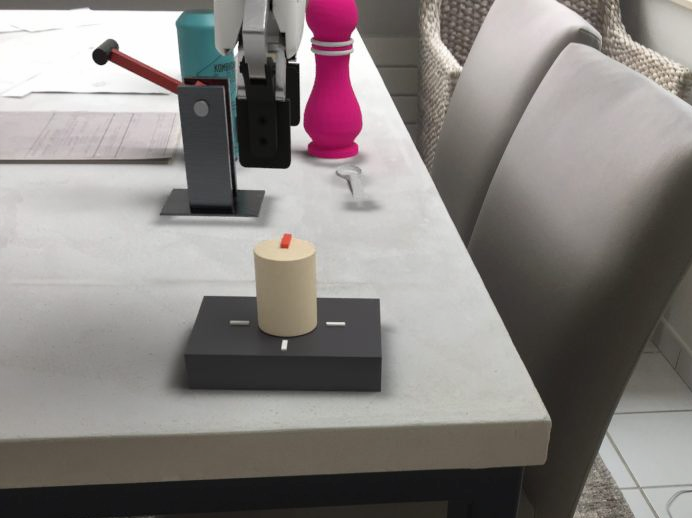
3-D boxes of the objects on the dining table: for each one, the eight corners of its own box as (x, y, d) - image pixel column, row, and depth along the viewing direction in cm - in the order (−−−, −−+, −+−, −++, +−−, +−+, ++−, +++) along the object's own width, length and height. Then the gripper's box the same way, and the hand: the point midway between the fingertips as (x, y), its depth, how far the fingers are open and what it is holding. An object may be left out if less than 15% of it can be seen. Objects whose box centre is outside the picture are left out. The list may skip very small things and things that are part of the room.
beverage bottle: (178, 171, 106) (156, -25, 94) (204, 156, 111) (187, -31, 99) (228, 178, 104) (212, -20, 92) (252, 162, 109) (241, -27, 97)
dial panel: (188, 391, 65) (183, 352, 63) (207, 330, 73) (203, 293, 71) (380, 393, 65) (382, 354, 63) (378, 332, 73) (379, 296, 71)
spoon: (359, 174, 106) (359, 157, 105) (375, 216, 97) (375, 198, 96) (334, 175, 105) (334, 158, 104) (348, 217, 97) (348, 199, 95)
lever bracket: (161, 224, 91) (143, 89, 84) (174, 199, 98) (159, 71, 90) (259, 226, 92) (251, 92, 84) (265, 201, 98) (258, 73, 90)
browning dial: (314, 338, 65) (312, 257, 62) (254, 335, 65) (248, 255, 62) (319, 312, 69) (317, 234, 65) (262, 310, 69) (257, 232, 65)
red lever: (88, 66, 84) (95, 40, 82) (101, 55, 88) (107, 30, 86) (211, 126, 87) (219, 102, 86) (217, 113, 91) (226, 90, 90)
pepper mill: (361, 169, 108) (363, -22, 96) (302, 167, 108) (296, -24, 96) (362, 152, 114) (364, -30, 102) (306, 150, 114) (301, -32, 102)
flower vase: (324, 109, 131) (321, -97, 116) (198, 105, 131) (179, -102, 116) (329, 88, 141) (327, -103, 126) (213, 85, 141) (197, -107, 126)
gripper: (213, -182, 56) (231, 109, 66) (164, -183, 42) (196, 184, 53) (333, -176, 56) (332, 113, 67) (323, -174, 43) (323, 188, 53)
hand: (272, 144), depth 60 cm, fingers open, 9 cm apart
